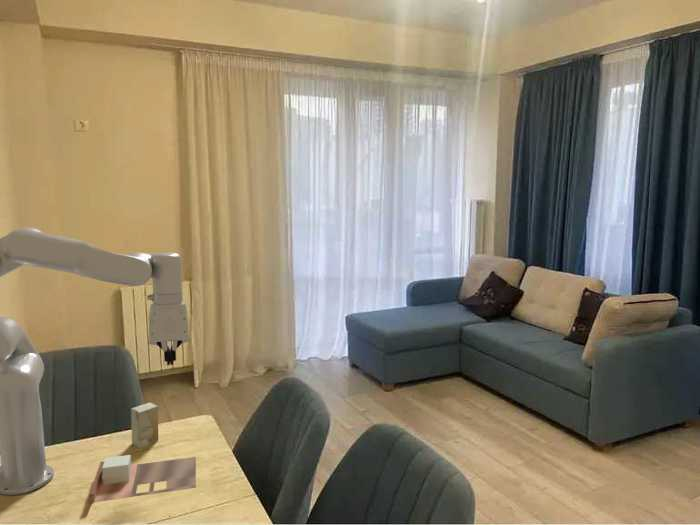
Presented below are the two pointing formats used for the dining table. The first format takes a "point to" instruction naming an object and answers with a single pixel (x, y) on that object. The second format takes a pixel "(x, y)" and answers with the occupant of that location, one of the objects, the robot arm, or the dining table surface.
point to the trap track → (147, 479)
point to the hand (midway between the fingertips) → (170, 363)
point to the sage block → (116, 469)
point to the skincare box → (144, 424)
